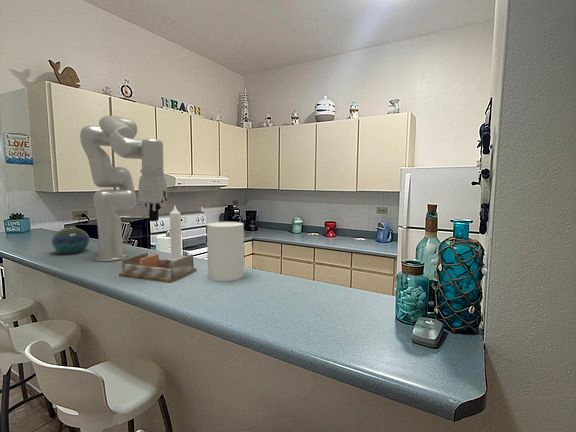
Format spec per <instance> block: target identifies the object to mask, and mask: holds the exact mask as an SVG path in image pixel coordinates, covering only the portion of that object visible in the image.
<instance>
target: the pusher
mask: <svg viewBox="0 0 576 432" xmlns="http://www.w3.org/2000/svg"><path fill="white" fill-rule="evenodd" d="M159 259H160V256H159V253H155V254H152V255H148V257H145V258H142V259H139V262H140V266H149V267H158V266H159Z"/></svg>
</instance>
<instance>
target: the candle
mask: <svg viewBox="0 0 576 432" xmlns="http://www.w3.org/2000/svg"><path fill="white" fill-rule="evenodd" d="M181 224H182V218H181V212H180V210H178V209H177V206H176V205H173V209H172V211H171V212H169V229H170V230H169V231H170V258H168V259H169V260H177V259H179V258H182V257H183V254H182V225H181Z"/></svg>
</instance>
